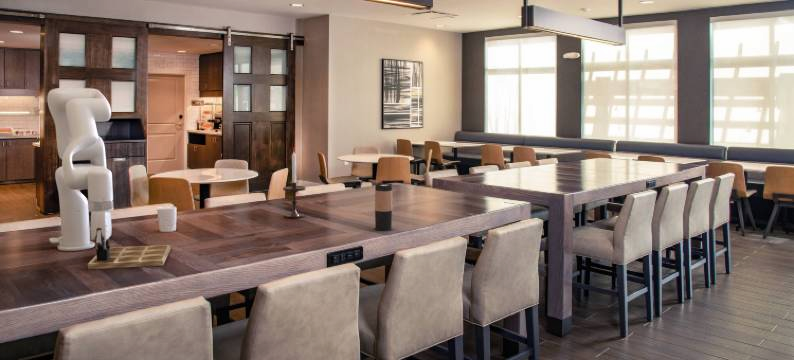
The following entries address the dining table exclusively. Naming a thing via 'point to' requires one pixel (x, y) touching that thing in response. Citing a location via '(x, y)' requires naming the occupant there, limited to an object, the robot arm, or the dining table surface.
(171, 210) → the white cup
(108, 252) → the metal cylinder
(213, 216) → the dining table surface
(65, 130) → the robot arm
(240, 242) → the dining table surface
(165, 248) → the board
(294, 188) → the candlestick
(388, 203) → the travel mug
